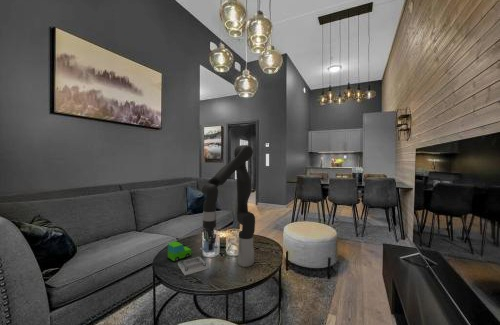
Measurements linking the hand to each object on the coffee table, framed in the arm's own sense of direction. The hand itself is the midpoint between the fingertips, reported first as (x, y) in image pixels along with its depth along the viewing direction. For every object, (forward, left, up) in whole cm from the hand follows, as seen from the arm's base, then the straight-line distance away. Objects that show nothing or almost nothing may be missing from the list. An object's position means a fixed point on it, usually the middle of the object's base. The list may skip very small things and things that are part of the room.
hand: (209, 248), depth 122 cm
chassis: (+5, -14, -15) cm, 21 cm away
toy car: (+8, -31, -15) cm, 35 cm away
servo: (0, 0, -1) cm, 1 cm away
